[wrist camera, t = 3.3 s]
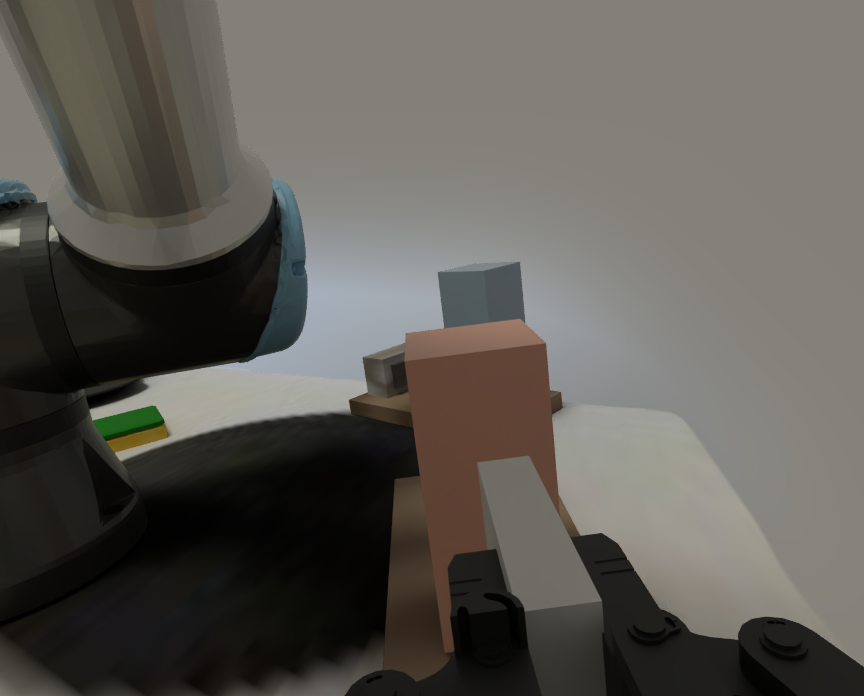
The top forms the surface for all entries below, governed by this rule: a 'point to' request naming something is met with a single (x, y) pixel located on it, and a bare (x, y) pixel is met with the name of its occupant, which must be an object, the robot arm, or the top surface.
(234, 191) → the robot arm
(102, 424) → the dish sponge
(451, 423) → the terracotta tall block
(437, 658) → the brown piece
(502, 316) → the slate blue block
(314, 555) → the top surface
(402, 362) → the wooden board with block
